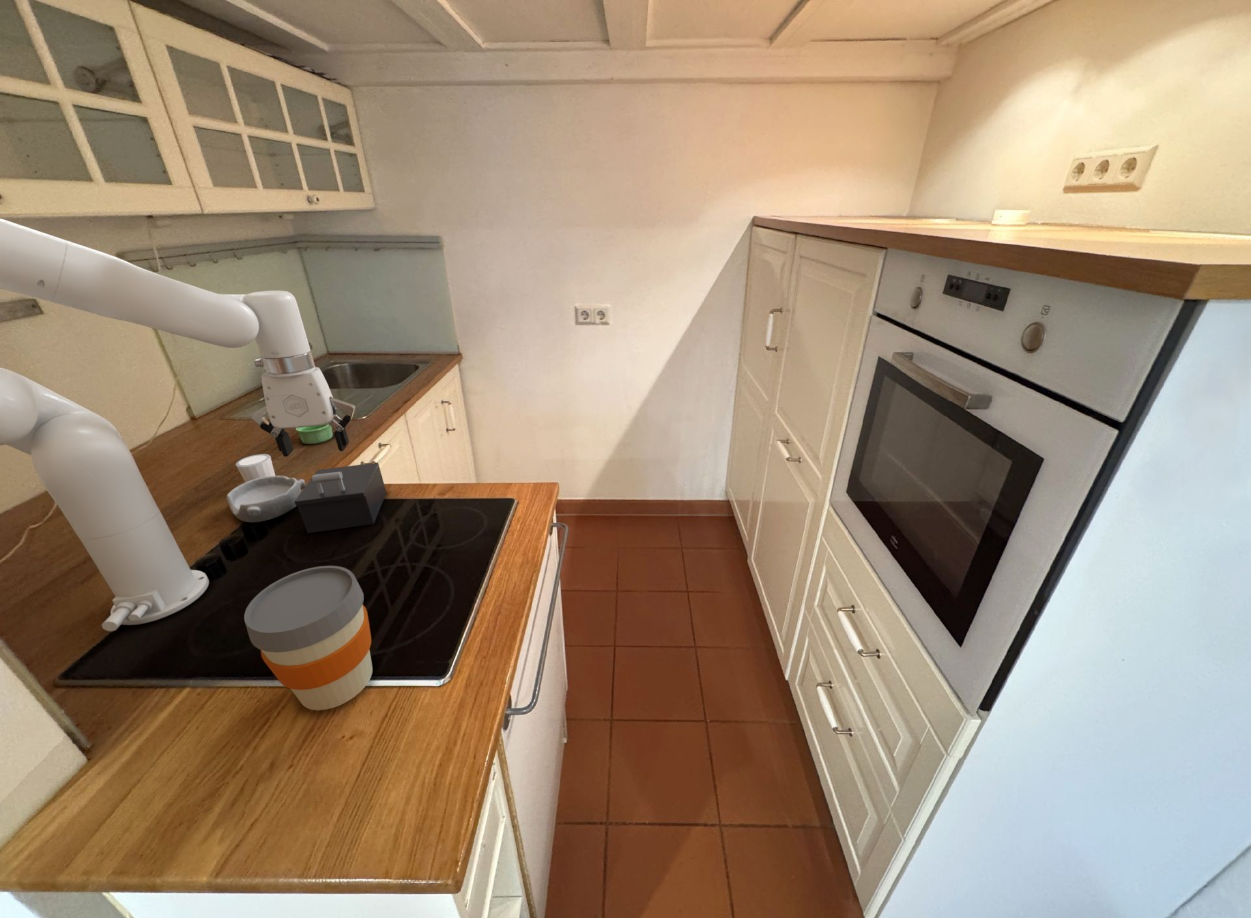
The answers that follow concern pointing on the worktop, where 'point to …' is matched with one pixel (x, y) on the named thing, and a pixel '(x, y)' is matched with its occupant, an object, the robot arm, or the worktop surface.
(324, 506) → the dark grey storage bin
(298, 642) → the reusable coffee cup
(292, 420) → the robot arm
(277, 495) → the dish
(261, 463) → the white fluted cup
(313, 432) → the ramekin
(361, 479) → the lid
